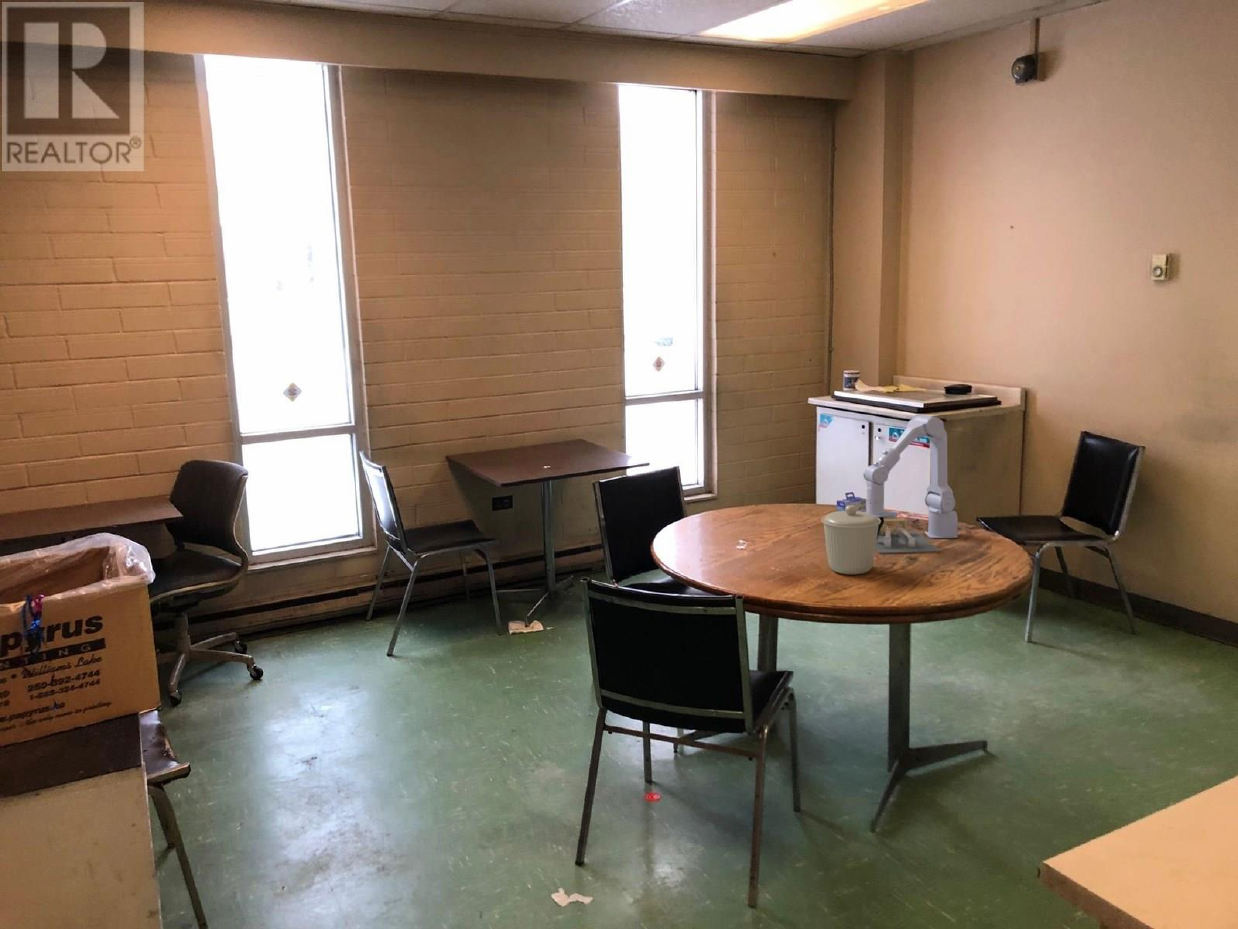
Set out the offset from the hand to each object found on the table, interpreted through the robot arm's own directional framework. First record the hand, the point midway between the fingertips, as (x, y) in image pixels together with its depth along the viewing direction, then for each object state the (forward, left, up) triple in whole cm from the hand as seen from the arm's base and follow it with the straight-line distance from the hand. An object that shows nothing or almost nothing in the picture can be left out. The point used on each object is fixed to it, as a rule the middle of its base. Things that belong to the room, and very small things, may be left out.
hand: (874, 538), depth 336 cm
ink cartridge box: (+4, -17, -2) cm, 18 cm away
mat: (-9, -1, -2) cm, 9 cm away
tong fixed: (-11, -1, -1) cm, 11 cm away
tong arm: (-5, -1, -1) cm, 5 cm away
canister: (+14, +29, -2) cm, 32 cm away
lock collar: (-8, -10, -2) cm, 14 cm away
